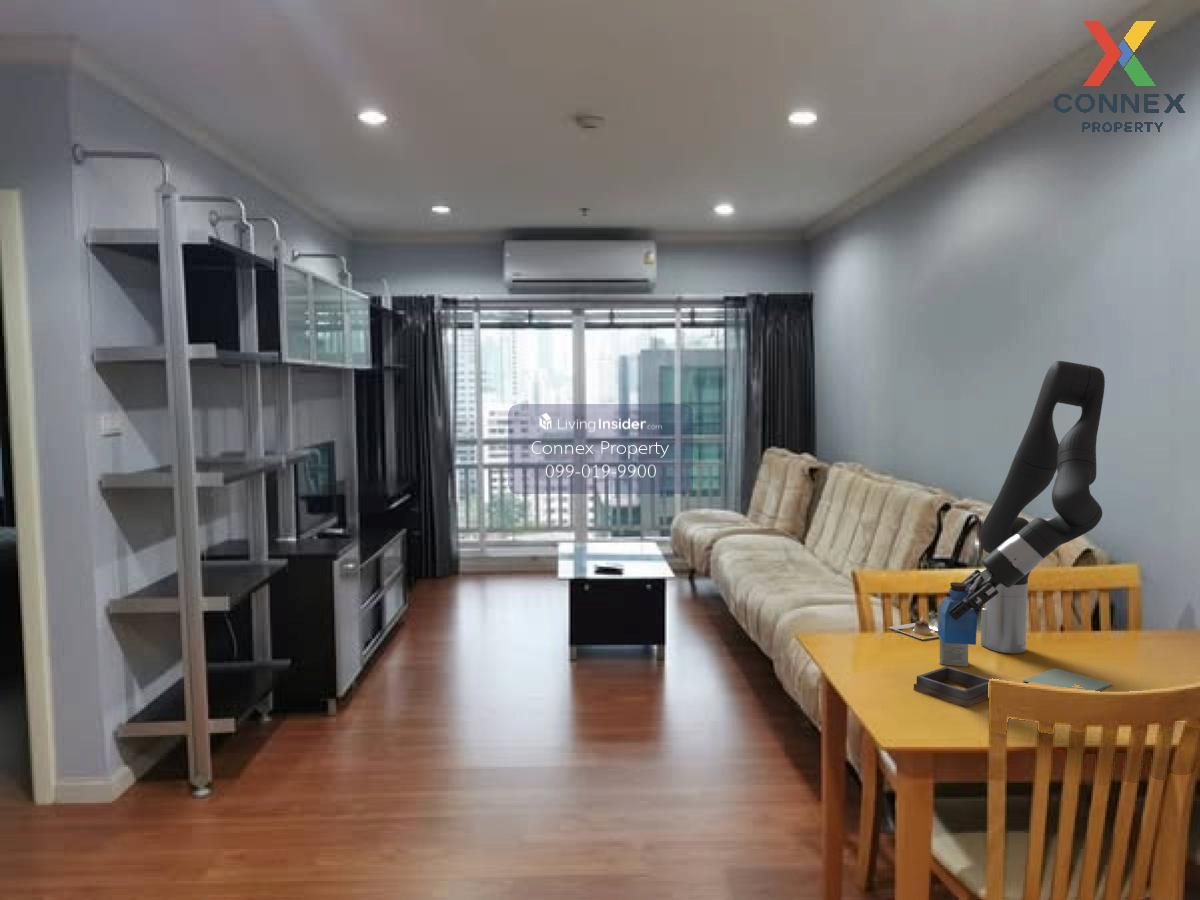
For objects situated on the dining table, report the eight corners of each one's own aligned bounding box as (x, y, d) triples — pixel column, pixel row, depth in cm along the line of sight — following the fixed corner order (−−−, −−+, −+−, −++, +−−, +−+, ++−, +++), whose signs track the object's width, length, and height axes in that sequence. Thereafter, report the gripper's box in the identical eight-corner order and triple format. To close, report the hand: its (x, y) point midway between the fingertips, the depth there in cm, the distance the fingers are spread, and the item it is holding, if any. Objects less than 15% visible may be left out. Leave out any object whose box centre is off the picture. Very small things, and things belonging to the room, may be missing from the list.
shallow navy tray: (913, 689, 170) (913, 676, 170) (945, 678, 177) (946, 665, 177) (966, 707, 160) (966, 693, 160) (997, 694, 167) (998, 681, 167)
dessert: (922, 643, 204) (922, 625, 204) (888, 630, 215) (888, 613, 215) (956, 637, 209) (956, 620, 209) (921, 625, 220) (921, 609, 220)
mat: (1022, 682, 175) (1022, 680, 174) (1054, 669, 182) (1054, 668, 182) (1080, 698, 165) (1080, 697, 165) (1111, 685, 172) (1111, 683, 172)
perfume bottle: (975, 644, 164) (977, 588, 164) (944, 643, 166) (946, 587, 165) (968, 635, 170) (970, 581, 170) (937, 634, 172) (939, 580, 171)
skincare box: (968, 662, 188) (969, 611, 187) (968, 667, 184) (969, 616, 183) (938, 658, 190) (940, 609, 190) (938, 664, 187) (939, 613, 186)
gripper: (991, 540, 171) (931, 590, 175) (1006, 554, 158) (940, 607, 162) (1017, 566, 170) (956, 615, 174) (1034, 581, 156) (968, 635, 161)
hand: (949, 611), depth 168 cm, fingers closed on perfume bottle, 6 cm apart
